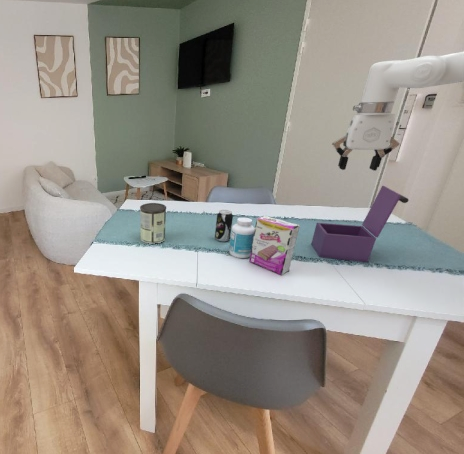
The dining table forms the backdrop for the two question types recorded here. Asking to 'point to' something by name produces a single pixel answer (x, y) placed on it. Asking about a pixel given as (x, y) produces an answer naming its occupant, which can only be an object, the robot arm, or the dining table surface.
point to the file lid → (382, 210)
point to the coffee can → (153, 222)
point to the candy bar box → (273, 244)
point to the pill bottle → (242, 238)
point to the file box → (343, 242)
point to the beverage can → (223, 225)
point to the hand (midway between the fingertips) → (357, 168)
